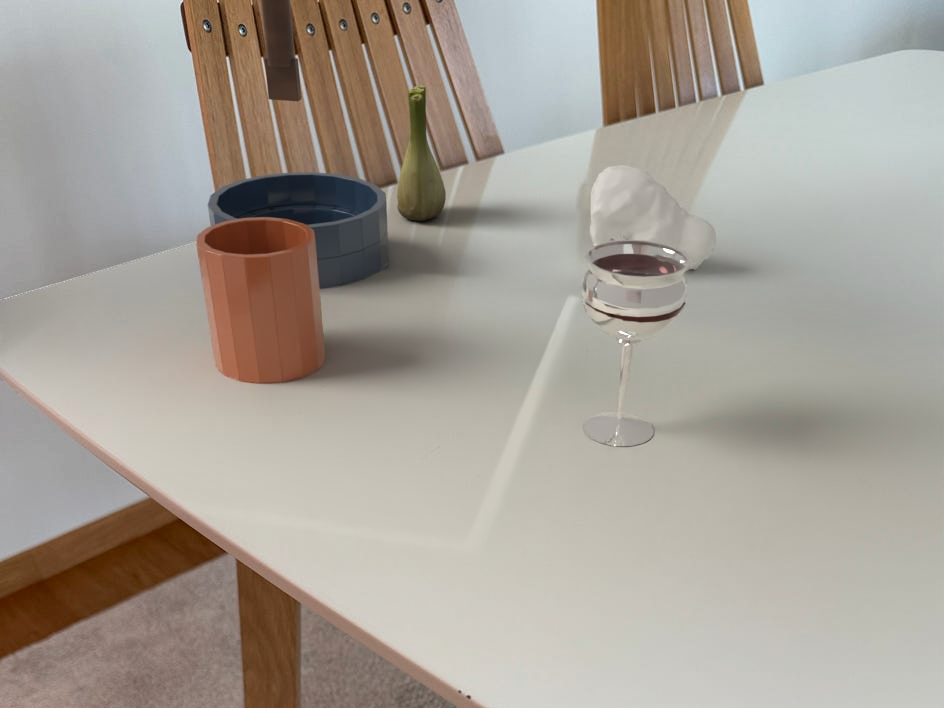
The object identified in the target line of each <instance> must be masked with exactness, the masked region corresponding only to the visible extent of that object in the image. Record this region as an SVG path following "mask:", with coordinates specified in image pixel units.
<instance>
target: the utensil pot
mask: <svg viewBox="0 0 944 708" xmlns="http://www.w3.org/2000/svg"><path fill="white" fill-rule="evenodd" d="M195 244H196V251H197V257H198V262H199V269H200V276H201V281H202V289H203V295H204V302H205V307H206V313H207V320H208V325H209V333H210V339H211V344H212V351H213V359H214V364H215V367H216V368H217V370H218V371H219V372H220V373H221V374H222V375H224V376H225V377H227V378H228V379H232V380H234V381H237V382H242V383H248V384H255V385H256V384H260V385H269V384H281V383H287V382H292V381H296V380H299V379H303V378H305V377H307V376H310V375H312V374H314V373H316V371H318V370H320V369H321V367H322V366H323V365H324V363H325V361H326V349H325V347H326V346H325V338H324V335H325V334H324V325H323V315H322V302H321V289H319V277H318V265H317V254H316V242H315V234H314V230H313V229H311V228H310V227H308V226H307V225H305V224H303V223H300V222H297V221H293V220H289V219H282V218H272V217H256V218H241V219H236V220H230V221H224V222H221V223H218V224H216V225H213V226H211V225H210V226H207V227H206V228H204V229H203V230H201V231H200V232H199V233H197V235H196V243H195Z"/></svg>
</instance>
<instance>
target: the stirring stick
mask: <svg viewBox="0 0 944 708" xmlns="http://www.w3.org/2000/svg"><path fill="white" fill-rule="evenodd" d="M260 5H261V14H262V23H263V33H264V43H265V53H266V57H264V58H263V59H264V67H265V69H264V70H265V77H266V78H265V79H266V86H267V96H268V100H271V101H272V100H273V101H285V102H300V101H301V100H302V89H301V87H302V86H301V78H300V77H301V76H300V65H299V59H298V58H297V57H296V55H295V54H296V53H295V43H294V42H295V41H294V33H293V32H294V31H293V21H292V8H291V0H260Z"/></svg>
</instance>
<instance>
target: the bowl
mask: <svg viewBox="0 0 944 708" xmlns="http://www.w3.org/2000/svg"><path fill="white" fill-rule="evenodd" d="M387 206H388V205H387V193H386V192H385V191H384V190H383V189H381V188H380V187H379V186H378V185H376V184H374V183H372V182H369V181H368V180H364V179H362V178H358V177H354V176H349V175H344V174H339V173H326V172H316V171H315V172H313V171H312V172H311V171H310V172H306V171H305V172H302V171H301V172H300V171H299V172H281V173H272V174H263V175H258V176H254V177H253V176H252V177H249V178H244V179H240V180H236V181H234V182H232V183H229V184H226V185H224V186H221V187H220V188H218V189H217V190H216V191H214V192H213V193H212V194H210V196H209V199H208V203H207V210H208V216H209V217H208V218H209V224H210V226H213V225H216V224H218V223H221V222H224V221H230V220H236V219H241V218H256V217H272V218H282V219H289V220H293V221H297V222H300V223H303V224H305V225H307V226H308V227H310V228H311V229H313V230H314V234H315V242H316V254H317V265H318V277H319V289H320V290H321V289H330V288H335V287H336V288H337V287H342V286H346V285H349V284H353V283H356V282H360V281H363V280H366V279H368V278H370V277H371V276H374V275H376V274H377V273H379V272H381V271H382V270H384V269H385V267H386V266H387V265H388V264H389V261H390V256H389V255H390V254H389V234H388V233H389V232H388V231H389V230H388V229H389V228H388V208H387Z"/></svg>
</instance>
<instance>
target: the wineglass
mask: <svg viewBox="0 0 944 708" xmlns="http://www.w3.org/2000/svg"><path fill="white" fill-rule="evenodd" d="M614 240H615V241H609V242H603V243H600V244H598V245H595V246H594V245H591V247H590V248H589V249H587V250H585V254H584V259H585V263H586V264H587V266H588V269H587V271H586V272H585V273H584V277H583V280H582V284H581V301H582V304H583V307H584V311H585V313H586V315H587V316H588V317H589V318H590V319H591V321H592V322H593V323H594V324H595V325H596V326H597V327H598V329H599V330H600V331H601V332H603V333H604V334H606V335H608V336H610V337H614V338H615V340H616V341H617V343H618V344H619V345H621V350H620V351H621V353H620V368H619V380H618V381H619V383H618V398H617V411H607V412H601V413H596V414H594V415H592V416H590V417H588V418H587V419H585V421H584V422H583V427H582V429H583V431H584V433H585V435H587V436H588V437H589V438H590V439H592V440H593V441H596V442H598V443H599V444H603V445H608V446H613V447H633V446H638V445H641V444H645V443H646V442H648V441H649V440H651V438H652V437H653V436H654V434H655V432H654V431H655V429H654V427H653V425H652V424H651V423H650V422H649V421H648V420H646V419H645V418H643V417H641V416H638V415H637V414H633V413H628V412H624V410H625V403H626V397H627V392H628V385H629V384H628V383H629V379H630V372H631V365H632V359H633V354H634V353H633V352H634V346H637V345H638V344H639V343H640V342H641V341H642V340H646V339H650V338H653V337H655V336H658V335H659V334H660V333H661V332H663V331H664V330H666V329H667V328H668V327H670V326H671V325H673V323H675V321H676V320H677V319H678V318H679V316H680V314H681V312H682V311H683V310H684V309H685V306H686V300H687V296H688V289H687V280H686V277H685V276H684V274H685V272H687V271H686V269H688V267H689V266H690V258H689V257H688V256H687V254H686V253H684V252H683V251H681V250H679V249H677V248H675V247H672V246H669V245H666V244H663V243H657V242H652V241H644V240H626V239H617V240H616V239H614Z"/></svg>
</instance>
